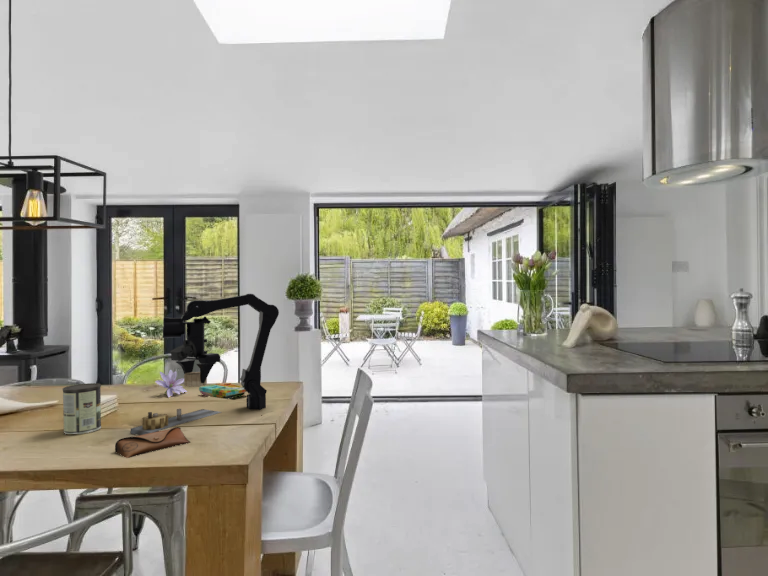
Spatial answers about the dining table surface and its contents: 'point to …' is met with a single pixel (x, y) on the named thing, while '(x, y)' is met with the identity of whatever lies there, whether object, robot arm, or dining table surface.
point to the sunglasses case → (150, 442)
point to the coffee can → (82, 408)
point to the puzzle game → (222, 390)
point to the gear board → (168, 420)
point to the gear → (193, 380)
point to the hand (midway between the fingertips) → (195, 382)
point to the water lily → (171, 383)
